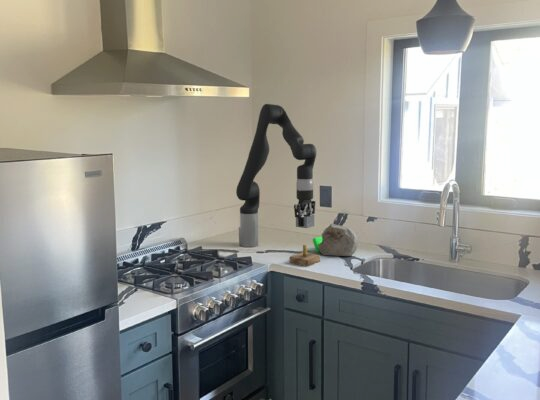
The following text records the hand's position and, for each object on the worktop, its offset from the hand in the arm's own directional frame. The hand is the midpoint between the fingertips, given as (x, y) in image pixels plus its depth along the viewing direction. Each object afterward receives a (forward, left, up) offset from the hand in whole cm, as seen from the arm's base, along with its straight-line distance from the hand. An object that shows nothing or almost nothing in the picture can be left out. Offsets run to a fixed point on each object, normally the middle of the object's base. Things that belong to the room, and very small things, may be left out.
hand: (305, 225), depth 248 cm
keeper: (0, 0, -17) cm, 17 cm away
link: (0, 0, -1) cm, 1 cm away
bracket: (-5, +29, -18) cm, 34 cm away
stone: (+5, +20, -18) cm, 27 cm away
